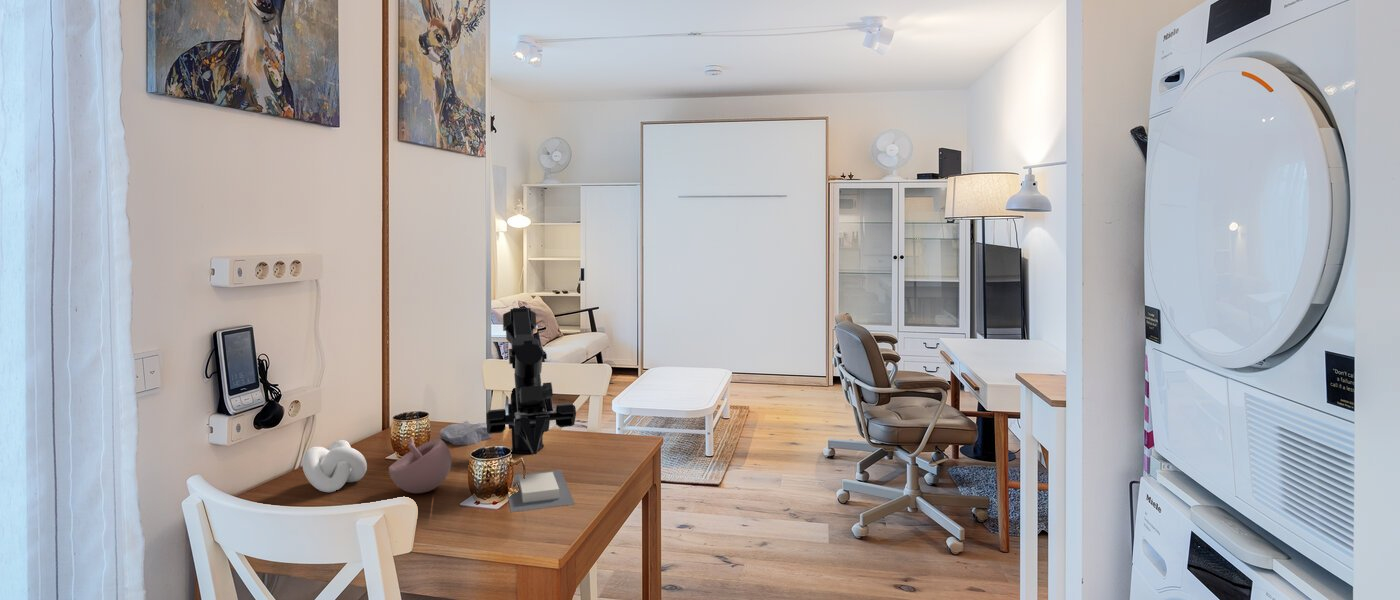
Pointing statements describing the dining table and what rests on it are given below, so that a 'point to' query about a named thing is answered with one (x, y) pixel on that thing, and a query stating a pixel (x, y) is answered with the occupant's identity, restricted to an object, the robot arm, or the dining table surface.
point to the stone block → (465, 433)
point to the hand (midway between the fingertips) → (534, 453)
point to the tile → (538, 487)
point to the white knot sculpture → (333, 466)
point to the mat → (563, 500)
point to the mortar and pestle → (422, 467)
